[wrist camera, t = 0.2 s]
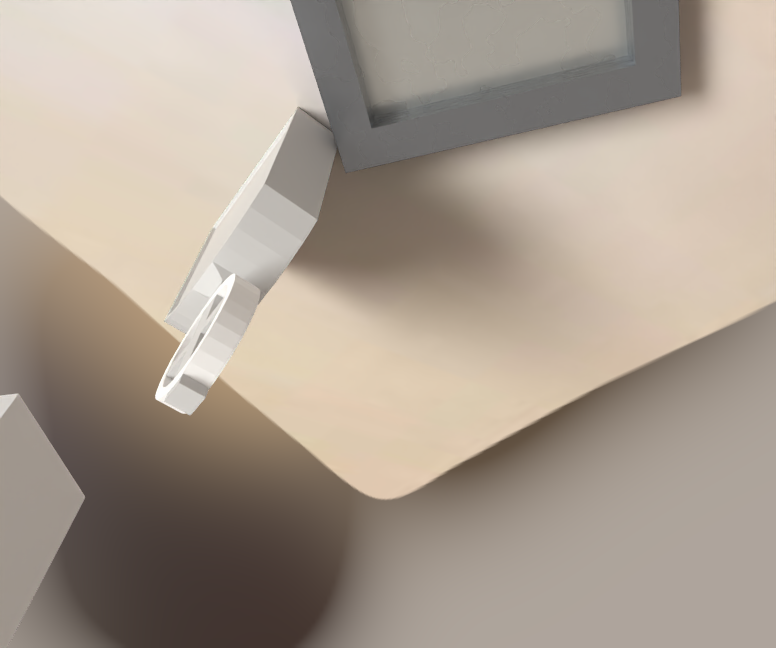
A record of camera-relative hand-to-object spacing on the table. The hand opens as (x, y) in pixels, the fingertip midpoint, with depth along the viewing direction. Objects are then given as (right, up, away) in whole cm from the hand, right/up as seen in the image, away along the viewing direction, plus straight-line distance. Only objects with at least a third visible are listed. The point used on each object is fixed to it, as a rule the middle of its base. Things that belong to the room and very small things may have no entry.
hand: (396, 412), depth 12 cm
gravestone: (-7, +10, +28) cm, 31 cm away
